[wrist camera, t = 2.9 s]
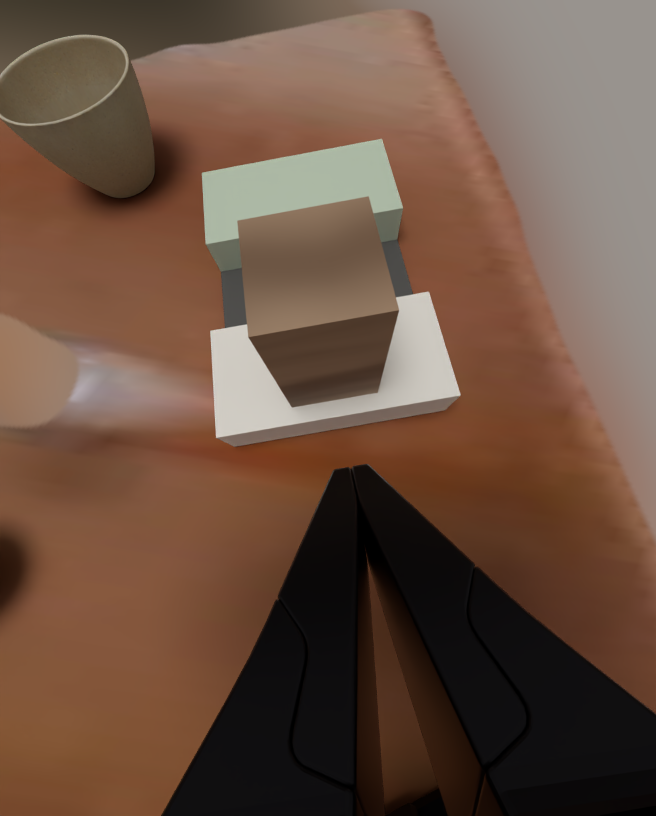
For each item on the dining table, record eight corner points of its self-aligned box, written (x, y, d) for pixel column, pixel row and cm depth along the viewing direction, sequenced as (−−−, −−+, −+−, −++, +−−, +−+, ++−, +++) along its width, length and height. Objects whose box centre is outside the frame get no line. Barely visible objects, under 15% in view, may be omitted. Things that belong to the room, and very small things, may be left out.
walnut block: (377, 392, 18) (399, 310, 10) (291, 407, 18) (248, 337, 10) (361, 317, 19) (368, 196, 11) (281, 332, 19) (237, 220, 12)
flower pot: (203, 165, 28) (156, 58, 21) (122, 238, 26) (42, 145, 20) (133, 125, 31) (71, 17, 24) (54, 189, 29) (-38, 92, 22)
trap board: (444, 410, 20) (460, 395, 17) (234, 446, 20) (216, 437, 18) (378, 178, 26) (381, 138, 23) (217, 208, 27) (201, 172, 24)
